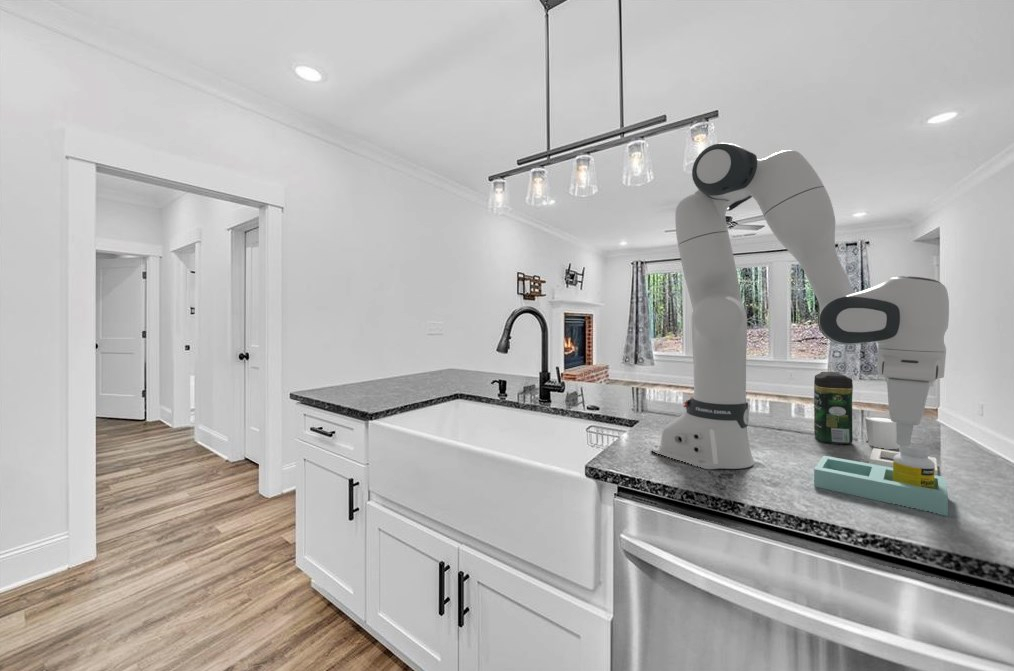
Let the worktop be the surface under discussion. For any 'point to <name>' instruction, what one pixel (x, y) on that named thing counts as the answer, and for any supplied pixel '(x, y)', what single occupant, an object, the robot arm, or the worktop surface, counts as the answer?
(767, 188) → the robot arm
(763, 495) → the worktop surface
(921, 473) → the supplement bottle
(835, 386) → the coffee jar
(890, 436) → the white round container
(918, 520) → the worktop surface
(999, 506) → the worktop surface
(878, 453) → the white shallow tray
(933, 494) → the block
